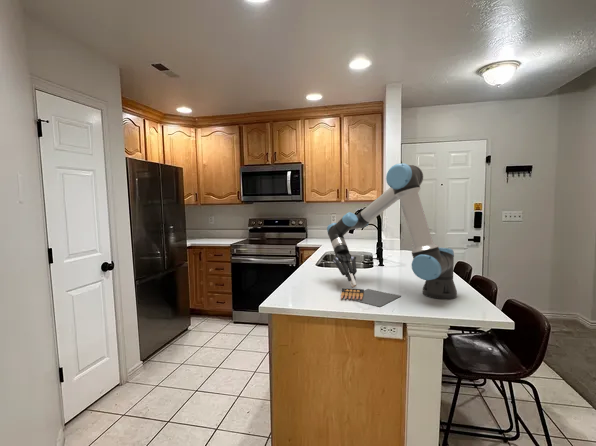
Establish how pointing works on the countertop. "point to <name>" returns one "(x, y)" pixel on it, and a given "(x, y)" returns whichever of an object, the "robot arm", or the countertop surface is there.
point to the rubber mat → (376, 298)
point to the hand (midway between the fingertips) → (354, 286)
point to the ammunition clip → (355, 292)
